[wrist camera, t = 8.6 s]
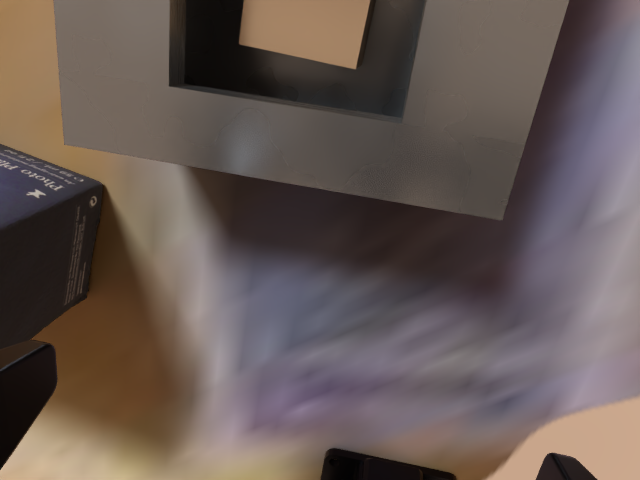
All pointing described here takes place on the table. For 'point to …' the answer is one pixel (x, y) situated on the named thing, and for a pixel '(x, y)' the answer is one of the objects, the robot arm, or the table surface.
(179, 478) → the table surface
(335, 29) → the tan rectangular block
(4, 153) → the small box
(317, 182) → the grey slotted block
